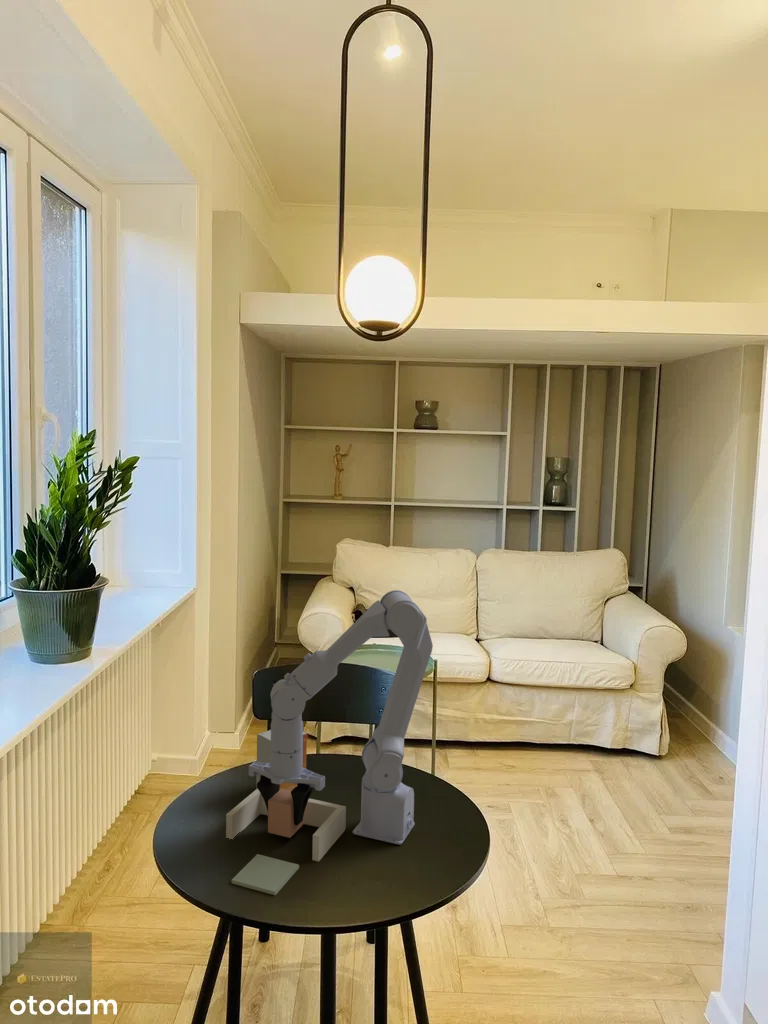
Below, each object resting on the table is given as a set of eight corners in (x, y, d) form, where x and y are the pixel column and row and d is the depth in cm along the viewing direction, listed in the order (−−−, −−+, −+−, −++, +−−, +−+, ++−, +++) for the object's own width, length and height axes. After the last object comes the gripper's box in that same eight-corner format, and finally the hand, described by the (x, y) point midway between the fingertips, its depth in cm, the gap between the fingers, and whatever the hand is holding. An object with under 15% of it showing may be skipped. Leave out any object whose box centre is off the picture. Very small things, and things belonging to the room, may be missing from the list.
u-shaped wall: (345, 829, 134) (345, 806, 134) (318, 861, 124) (319, 836, 124) (258, 809, 141) (258, 787, 140) (226, 838, 131) (226, 814, 130)
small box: (273, 807, 142) (274, 743, 141) (255, 796, 146) (255, 733, 145) (306, 794, 147) (307, 732, 146) (288, 783, 152) (288, 723, 151)
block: (303, 824, 134) (303, 792, 133) (290, 837, 129) (290, 805, 128) (281, 819, 135) (281, 788, 135) (267, 832, 130) (268, 800, 130)
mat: (298, 868, 122) (299, 864, 122) (275, 895, 115) (275, 891, 114) (257, 857, 125) (257, 854, 125) (231, 883, 117) (231, 879, 117)
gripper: (239, 748, 129) (239, 821, 131) (313, 763, 124) (311, 839, 126) (260, 734, 136) (259, 803, 137) (330, 747, 131) (329, 819, 132)
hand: (285, 819), depth 132 cm, fingers closed on block, 4 cm apart
